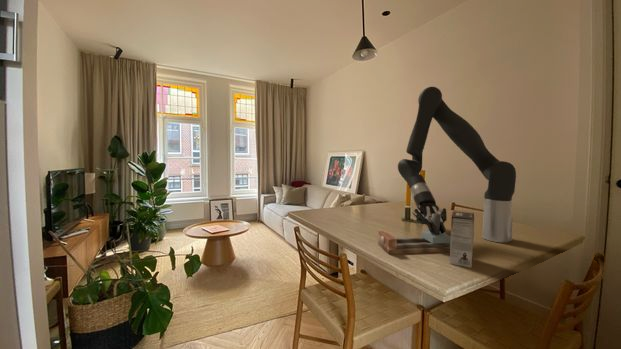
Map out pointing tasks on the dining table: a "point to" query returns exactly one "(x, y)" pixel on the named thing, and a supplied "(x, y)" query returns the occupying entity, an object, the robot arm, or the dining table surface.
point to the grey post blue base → (437, 236)
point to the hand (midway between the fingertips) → (438, 232)
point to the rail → (410, 244)
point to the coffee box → (462, 239)
